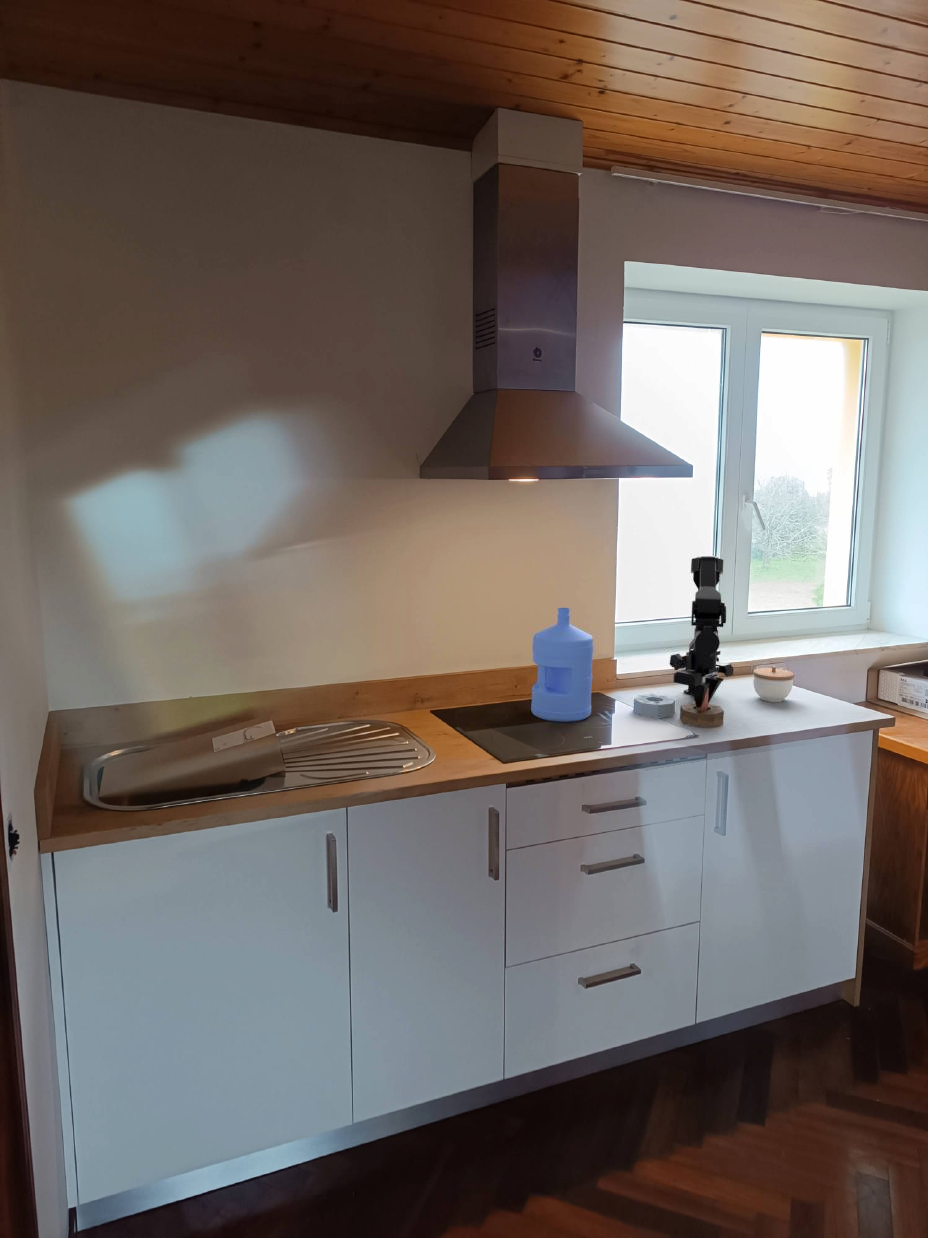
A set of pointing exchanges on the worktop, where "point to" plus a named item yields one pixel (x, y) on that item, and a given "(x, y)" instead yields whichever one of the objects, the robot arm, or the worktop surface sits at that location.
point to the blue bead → (654, 705)
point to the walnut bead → (701, 715)
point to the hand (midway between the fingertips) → (701, 706)
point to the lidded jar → (772, 683)
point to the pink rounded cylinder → (704, 703)
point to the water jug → (562, 671)
